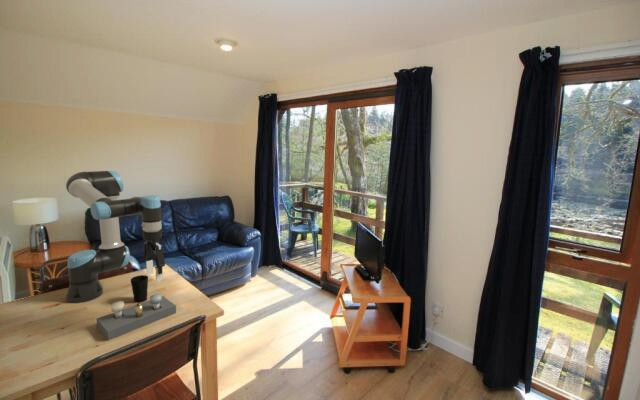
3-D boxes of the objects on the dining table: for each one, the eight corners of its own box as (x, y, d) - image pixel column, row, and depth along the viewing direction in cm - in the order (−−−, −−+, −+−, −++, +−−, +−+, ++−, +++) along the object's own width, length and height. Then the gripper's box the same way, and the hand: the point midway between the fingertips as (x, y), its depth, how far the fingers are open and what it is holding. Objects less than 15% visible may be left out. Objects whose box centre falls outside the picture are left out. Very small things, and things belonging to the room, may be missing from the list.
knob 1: (110, 317, 133) (109, 304, 132) (122, 313, 137) (121, 300, 136) (114, 321, 130) (113, 308, 129) (126, 317, 134) (125, 303, 133)
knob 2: (148, 309, 141) (148, 296, 140) (159, 305, 145) (158, 293, 143) (153, 313, 138) (152, 300, 137) (164, 309, 142) (163, 296, 141)
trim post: (134, 315, 134) (133, 304, 133) (141, 313, 136) (140, 302, 135) (137, 318, 132) (136, 306, 131) (144, 315, 134) (143, 304, 133)
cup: (141, 304, 150) (140, 282, 148) (128, 302, 152) (126, 280, 150) (152, 297, 158) (151, 276, 156) (140, 295, 159) (138, 274, 157)
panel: (97, 326, 131) (96, 318, 130) (162, 303, 153) (162, 295, 152) (108, 340, 123) (107, 331, 122) (176, 313, 145) (175, 305, 144)
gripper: (133, 226, 138) (136, 272, 142) (154, 236, 125) (157, 287, 129) (150, 224, 144) (152, 268, 148) (172, 233, 131) (174, 281, 135)
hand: (154, 277), depth 138 cm, fingers open, 9 cm apart
